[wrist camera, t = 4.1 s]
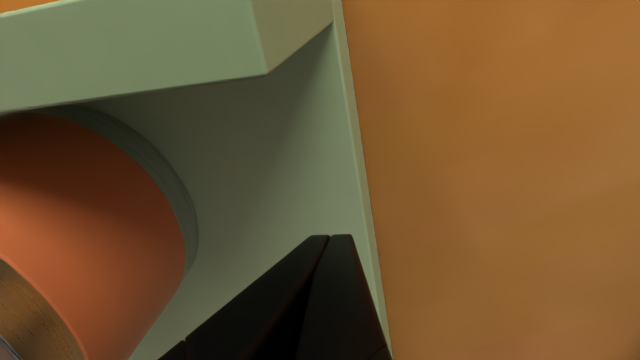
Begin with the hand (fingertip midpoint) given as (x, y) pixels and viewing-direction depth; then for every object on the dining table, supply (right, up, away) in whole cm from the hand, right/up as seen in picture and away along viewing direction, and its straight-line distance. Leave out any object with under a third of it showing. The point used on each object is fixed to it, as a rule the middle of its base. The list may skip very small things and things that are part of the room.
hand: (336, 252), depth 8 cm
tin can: (-7, +1, +4) cm, 8 cm away
